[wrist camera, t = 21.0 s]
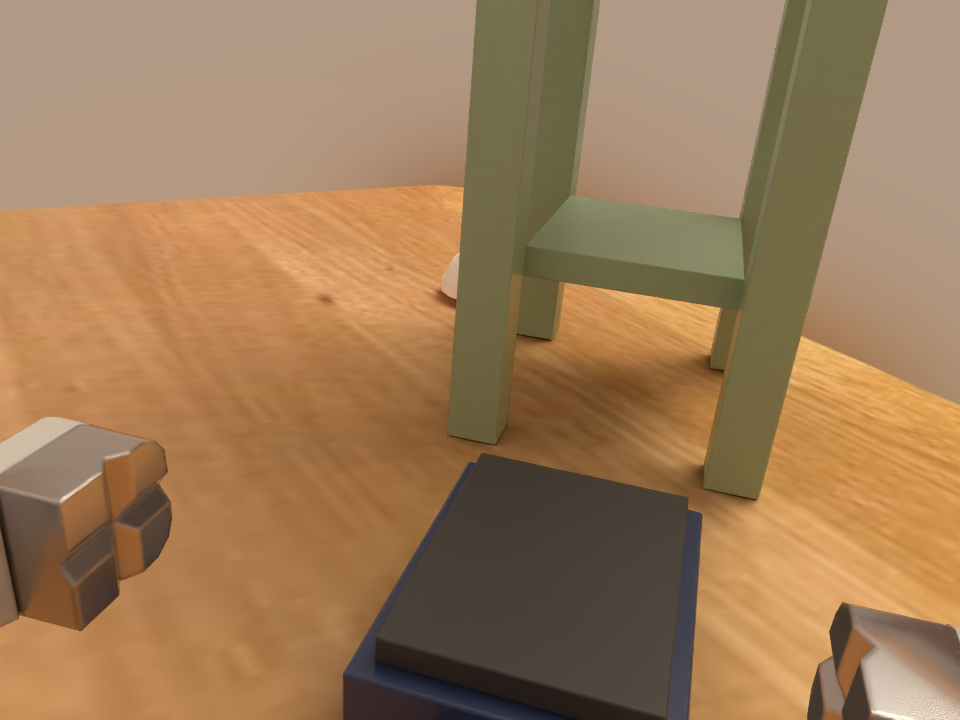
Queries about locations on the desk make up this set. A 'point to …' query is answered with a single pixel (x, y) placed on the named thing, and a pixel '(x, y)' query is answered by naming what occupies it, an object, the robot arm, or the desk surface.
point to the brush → (538, 605)
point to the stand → (648, 215)
